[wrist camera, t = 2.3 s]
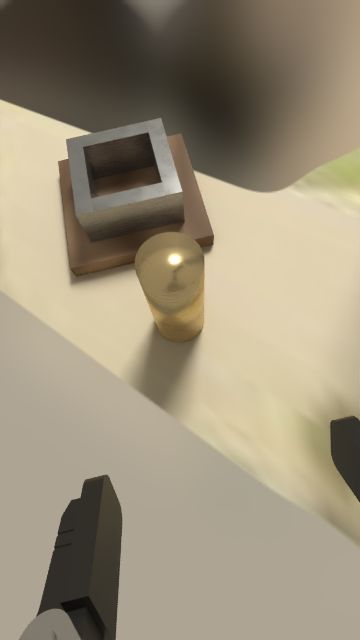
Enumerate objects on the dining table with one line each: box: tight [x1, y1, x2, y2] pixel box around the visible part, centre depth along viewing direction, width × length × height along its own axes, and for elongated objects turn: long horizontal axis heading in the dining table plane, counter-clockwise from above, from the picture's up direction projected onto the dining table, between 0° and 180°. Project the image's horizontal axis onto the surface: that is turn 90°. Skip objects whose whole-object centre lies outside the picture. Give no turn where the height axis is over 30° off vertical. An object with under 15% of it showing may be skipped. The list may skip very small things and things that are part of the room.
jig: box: [58, 118, 214, 276], centre depth 32 cm, size 14×14×6 cm
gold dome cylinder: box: [135, 232, 204, 342], centre depth 25 cm, size 4×4×10 cm
